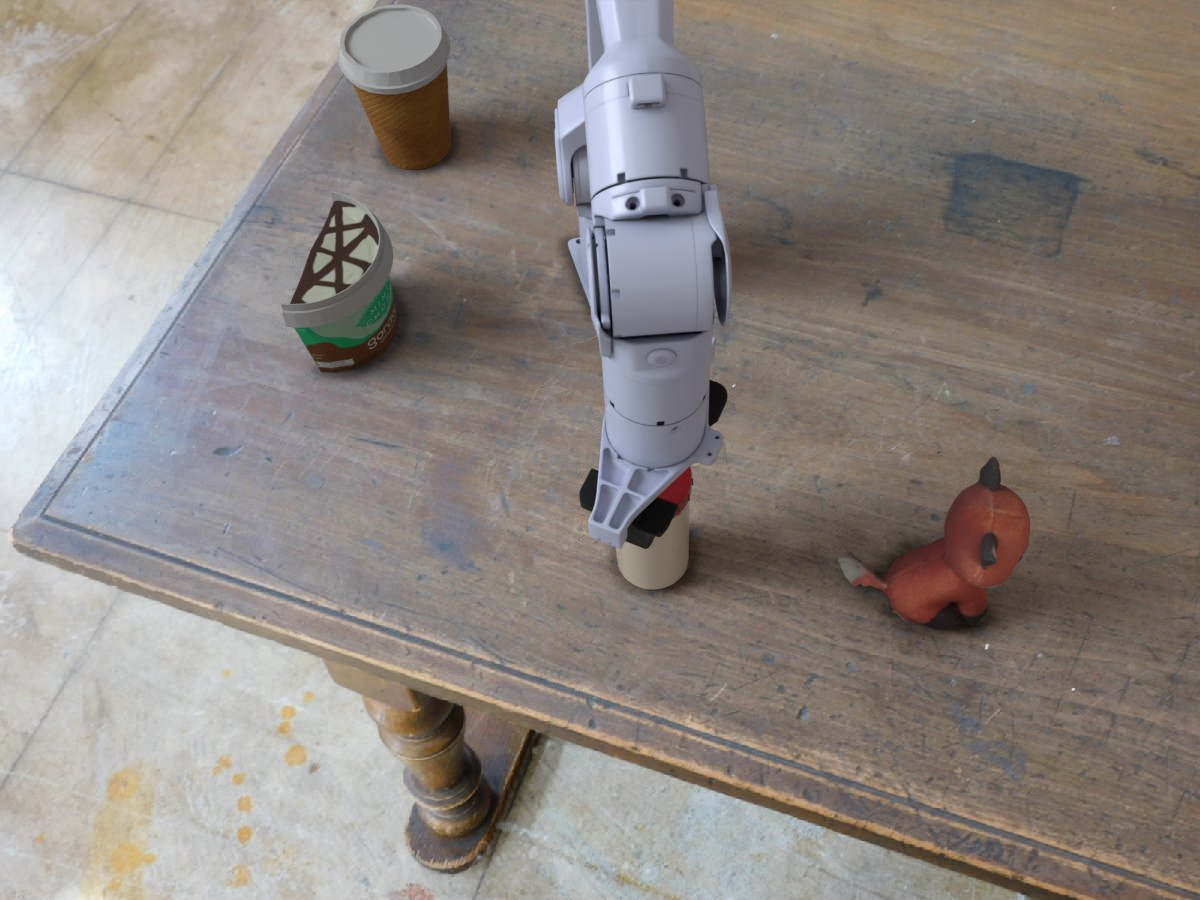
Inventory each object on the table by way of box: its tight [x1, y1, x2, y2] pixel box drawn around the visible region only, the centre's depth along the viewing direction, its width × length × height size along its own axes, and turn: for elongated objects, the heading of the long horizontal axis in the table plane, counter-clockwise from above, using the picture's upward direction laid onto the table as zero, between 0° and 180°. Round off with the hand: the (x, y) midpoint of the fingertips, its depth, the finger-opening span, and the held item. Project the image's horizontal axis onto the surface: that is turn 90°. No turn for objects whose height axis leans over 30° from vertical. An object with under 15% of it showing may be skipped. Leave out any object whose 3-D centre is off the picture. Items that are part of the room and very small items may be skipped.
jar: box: [615, 500, 691, 591], centre depth 73 cm, size 5×5×11 cm
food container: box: [280, 190, 399, 373], centre depth 85 cm, size 12×6×10 cm, turn 168°
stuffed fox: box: [837, 456, 1031, 631], centre depth 71 cm, size 8×11×12 cm
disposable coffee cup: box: [337, 3, 452, 170], centre depth 95 cm, size 10×10×12 cm
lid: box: [658, 465, 694, 518], centre depth 69 cm, size 6×6×1 cm
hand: (654, 499), depth 70 cm, fingers closed on lid, 6 cm apart
